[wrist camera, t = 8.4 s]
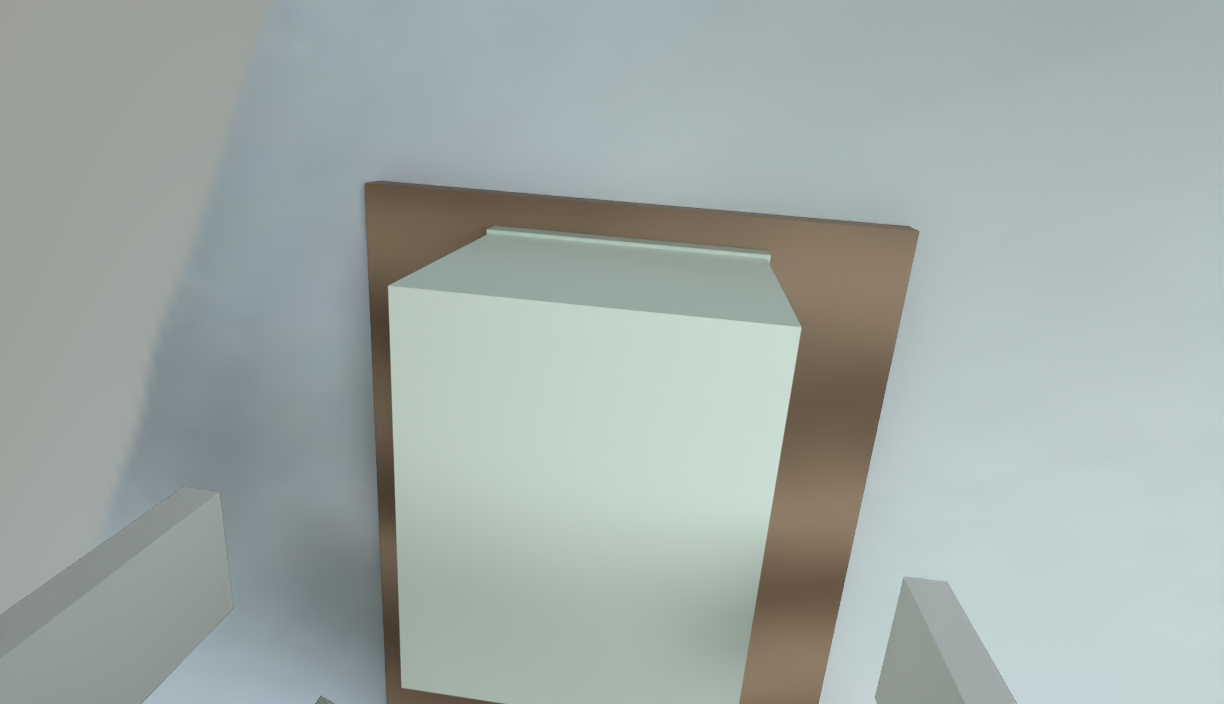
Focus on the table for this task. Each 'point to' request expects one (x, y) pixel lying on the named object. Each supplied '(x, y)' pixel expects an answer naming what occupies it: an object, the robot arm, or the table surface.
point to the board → (817, 413)
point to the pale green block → (585, 465)
